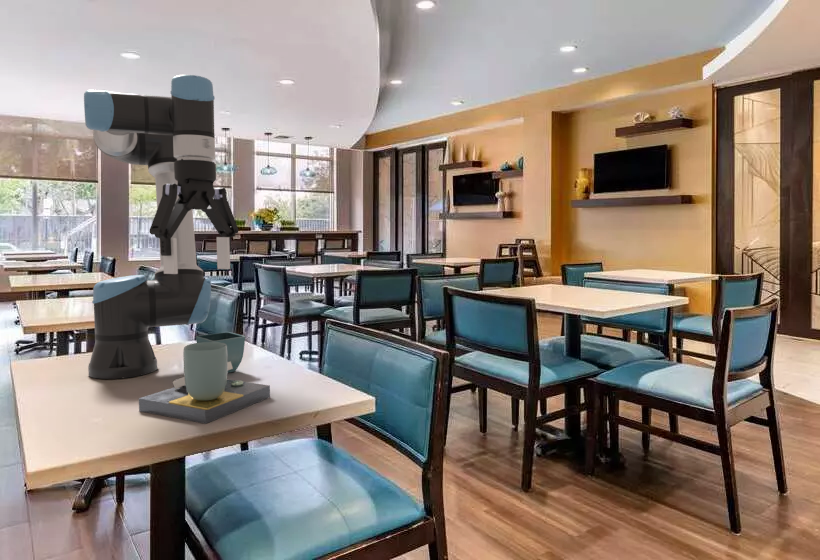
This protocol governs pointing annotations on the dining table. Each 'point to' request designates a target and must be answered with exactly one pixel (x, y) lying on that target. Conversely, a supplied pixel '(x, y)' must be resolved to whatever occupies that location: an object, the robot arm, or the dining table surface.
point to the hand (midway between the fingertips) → (198, 271)
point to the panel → (204, 402)
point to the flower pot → (233, 346)
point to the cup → (205, 370)
